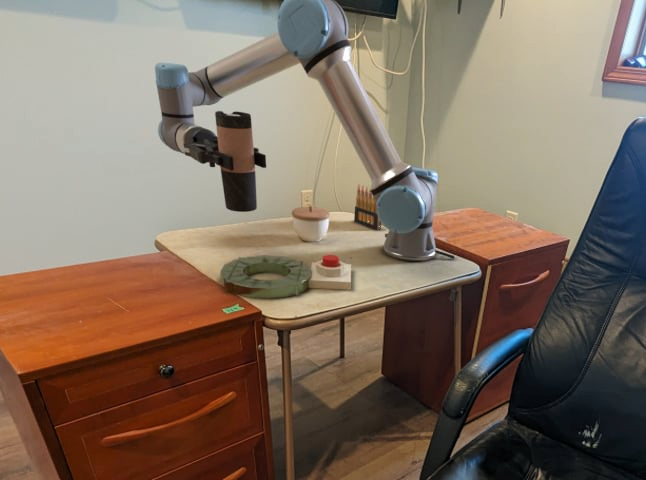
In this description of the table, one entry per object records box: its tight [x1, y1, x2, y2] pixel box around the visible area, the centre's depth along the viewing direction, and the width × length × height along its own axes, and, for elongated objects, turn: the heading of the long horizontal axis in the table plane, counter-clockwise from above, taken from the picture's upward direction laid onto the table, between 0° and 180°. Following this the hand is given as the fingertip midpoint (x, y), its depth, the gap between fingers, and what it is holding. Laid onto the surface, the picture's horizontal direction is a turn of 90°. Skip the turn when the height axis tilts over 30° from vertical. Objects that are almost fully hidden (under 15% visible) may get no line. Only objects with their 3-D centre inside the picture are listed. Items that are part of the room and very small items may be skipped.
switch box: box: [308, 259, 352, 291], centre depth 128 cm, size 10×12×4 cm
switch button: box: [321, 254, 340, 268], centre depth 126 cm, size 4×4×2 cm
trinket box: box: [291, 205, 330, 243], centre depth 151 cm, size 11×11×9 cm
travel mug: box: [214, 110, 258, 213], centre depth 118 cm, size 8×8×20 cm
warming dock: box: [219, 254, 312, 300], centre depth 124 cm, size 21×21×2 cm
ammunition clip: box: [353, 183, 382, 231], centre depth 166 cm, size 11×2×12 cm, turn 49°
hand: (248, 162), depth 115 cm, fingers closed on travel mug, 7 cm apart
